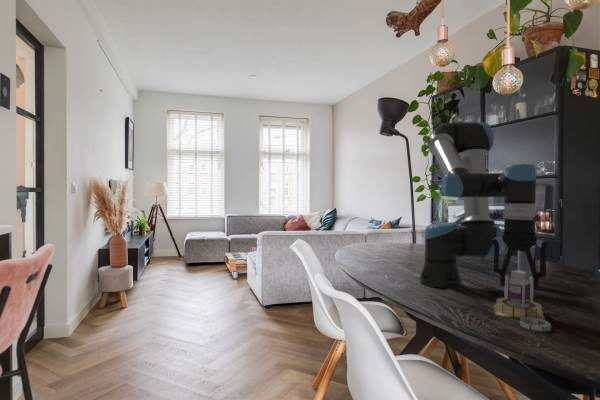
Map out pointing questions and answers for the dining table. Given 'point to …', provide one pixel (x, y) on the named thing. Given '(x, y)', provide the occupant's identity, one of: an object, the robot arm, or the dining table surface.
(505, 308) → the brass collar
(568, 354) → the dining table surface
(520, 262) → the beverage can
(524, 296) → the pill bottle
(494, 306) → the oak plate
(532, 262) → the robot arm
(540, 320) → the grey collar
